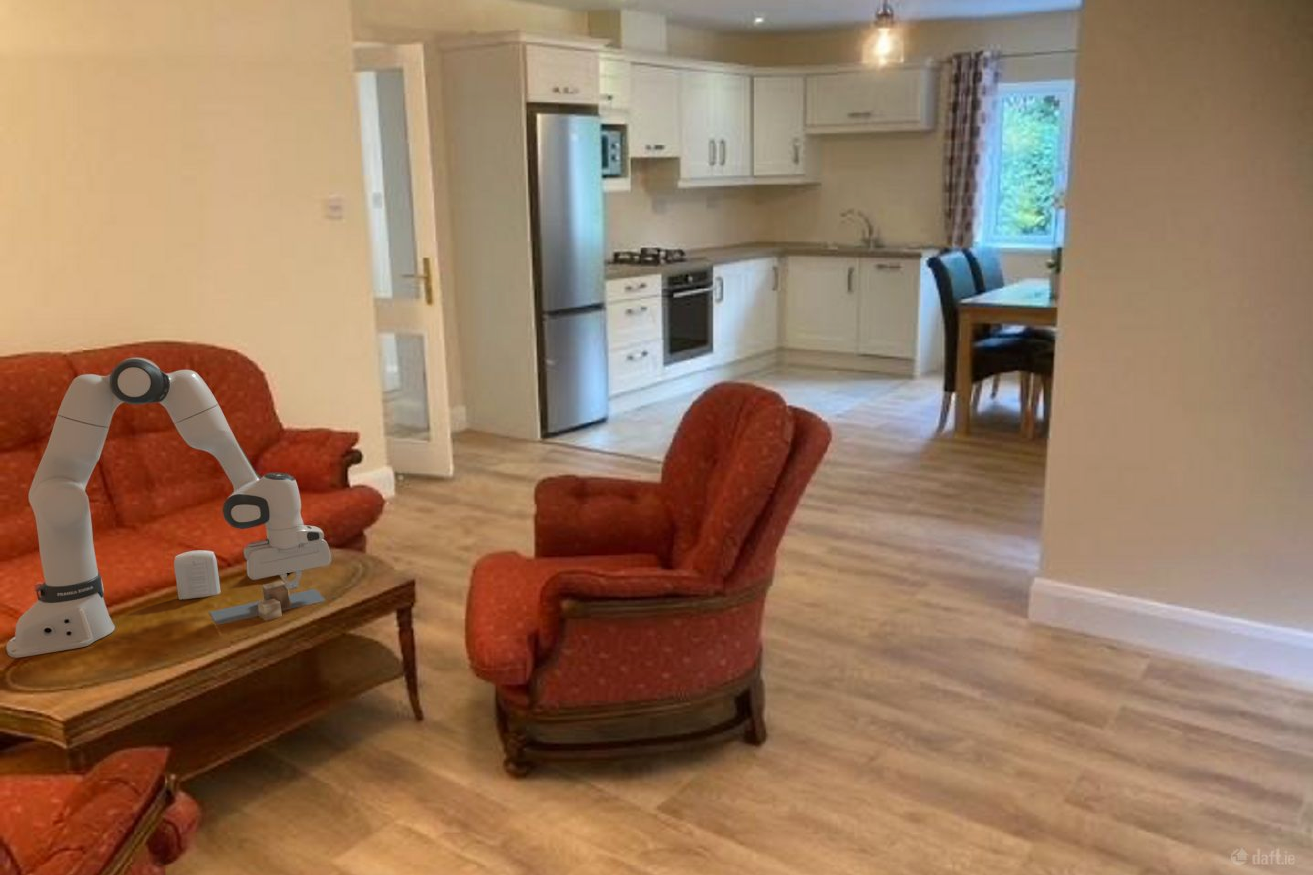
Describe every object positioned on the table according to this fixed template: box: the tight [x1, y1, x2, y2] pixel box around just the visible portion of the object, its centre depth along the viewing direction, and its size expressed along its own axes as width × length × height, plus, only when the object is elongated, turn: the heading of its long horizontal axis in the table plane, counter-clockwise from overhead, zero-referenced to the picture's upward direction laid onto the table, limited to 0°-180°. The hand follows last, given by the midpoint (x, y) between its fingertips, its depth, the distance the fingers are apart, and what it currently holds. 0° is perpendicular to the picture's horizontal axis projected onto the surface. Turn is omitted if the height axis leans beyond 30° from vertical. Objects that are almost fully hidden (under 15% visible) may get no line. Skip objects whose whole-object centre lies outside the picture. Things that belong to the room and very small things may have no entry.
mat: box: [209, 588, 327, 626], centre depth 259 cm, size 26×11×1 cm, turn 122°
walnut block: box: [262, 580, 291, 609], centre depth 260 cm, size 4×8×5 cm
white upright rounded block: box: [173, 549, 221, 601], centre depth 269 cm, size 10×4×12 cm, turn 107°
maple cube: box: [258, 599, 283, 622], centre depth 251 cm, size 4×4×4 cm
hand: (292, 588), depth 261 cm, fingers closed
